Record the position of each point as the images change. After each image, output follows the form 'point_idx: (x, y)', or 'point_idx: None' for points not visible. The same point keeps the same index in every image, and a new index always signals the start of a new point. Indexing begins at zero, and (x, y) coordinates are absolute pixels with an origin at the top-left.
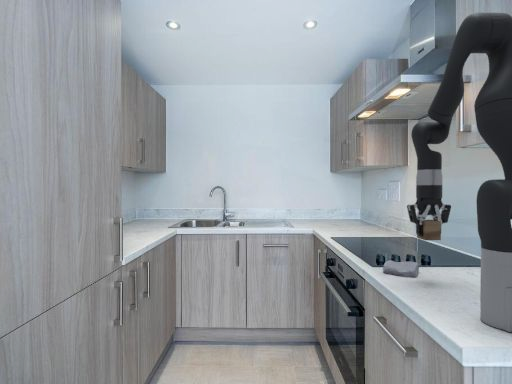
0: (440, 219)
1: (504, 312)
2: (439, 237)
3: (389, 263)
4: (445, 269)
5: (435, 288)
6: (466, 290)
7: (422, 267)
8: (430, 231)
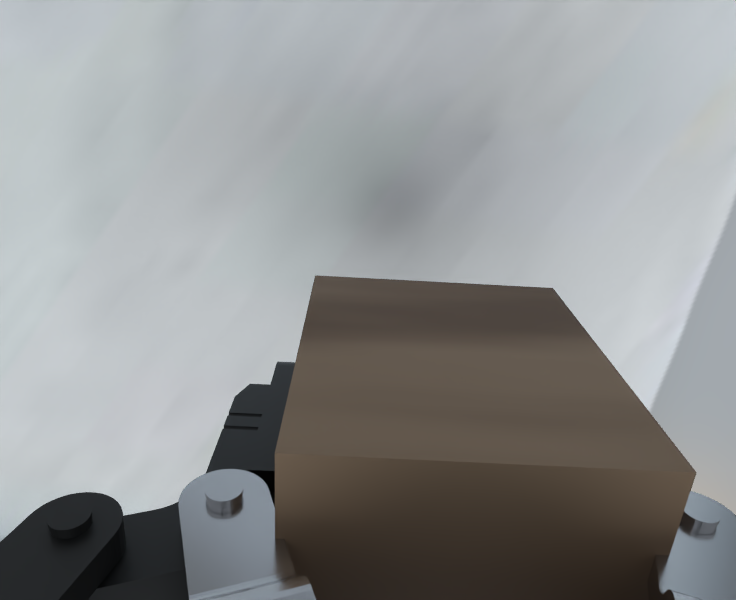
0: (208, 565)
1: None
2: (334, 290)
3: None
4: (61, 494)
5: (425, 97)
6: (225, 17)
7: None
8: (506, 345)
